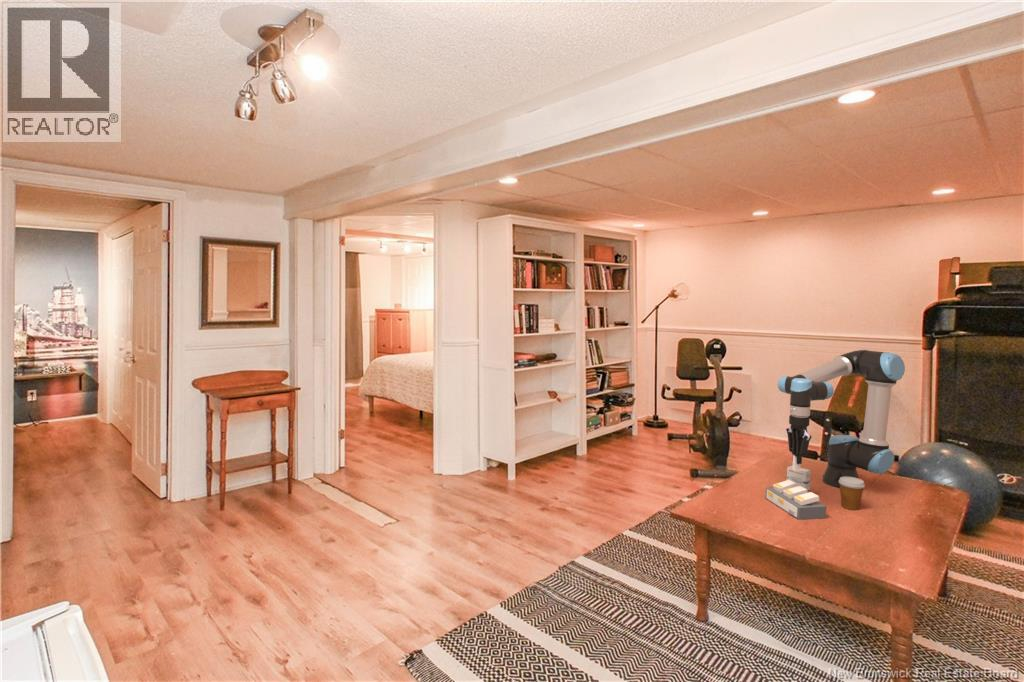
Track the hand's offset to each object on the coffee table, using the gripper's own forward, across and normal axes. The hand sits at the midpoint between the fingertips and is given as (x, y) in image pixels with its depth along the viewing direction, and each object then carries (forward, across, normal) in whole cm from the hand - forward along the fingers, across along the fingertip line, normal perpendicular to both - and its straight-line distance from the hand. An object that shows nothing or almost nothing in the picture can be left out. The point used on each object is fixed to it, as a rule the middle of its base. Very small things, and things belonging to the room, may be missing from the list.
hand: (796, 470), depth 224 cm
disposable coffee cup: (+17, +2, +24) cm, 29 cm away
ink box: (+17, -14, +12) cm, 25 cm away
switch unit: (+16, 0, 0) cm, 16 cm away
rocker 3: (+10, +7, 0) cm, 12 cm away
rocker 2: (+10, 0, 0) cm, 10 cm away
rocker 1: (+10, -7, 0) cm, 12 cm away
